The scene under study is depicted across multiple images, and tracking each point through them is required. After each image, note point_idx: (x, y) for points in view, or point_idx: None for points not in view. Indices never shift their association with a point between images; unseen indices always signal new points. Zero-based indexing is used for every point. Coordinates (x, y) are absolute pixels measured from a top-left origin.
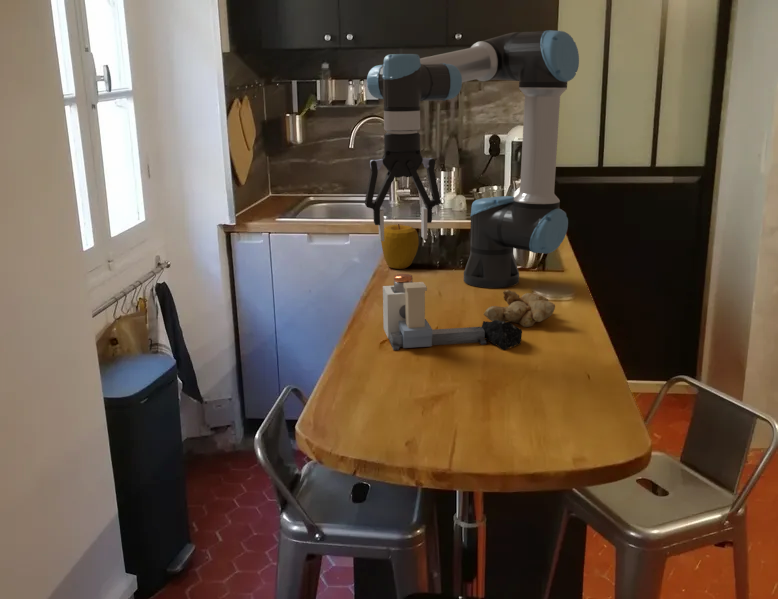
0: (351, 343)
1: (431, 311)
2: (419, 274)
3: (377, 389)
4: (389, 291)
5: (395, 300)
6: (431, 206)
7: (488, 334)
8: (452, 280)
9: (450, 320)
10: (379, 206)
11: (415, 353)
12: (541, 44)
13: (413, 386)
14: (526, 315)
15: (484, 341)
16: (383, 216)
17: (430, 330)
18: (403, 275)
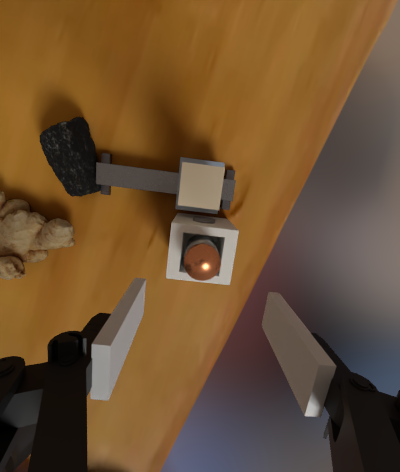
0: (277, 215)
1: None
2: (109, 456)
3: (301, 27)
4: (229, 249)
5: (223, 226)
6: (62, 340)
7: (93, 160)
8: None
9: (123, 265)
10: (353, 388)
11: (209, 150)
12: None
13: (252, 20)
14: (11, 207)
15: (105, 153)
16: (306, 344)
17: (183, 157)
18: (200, 267)
